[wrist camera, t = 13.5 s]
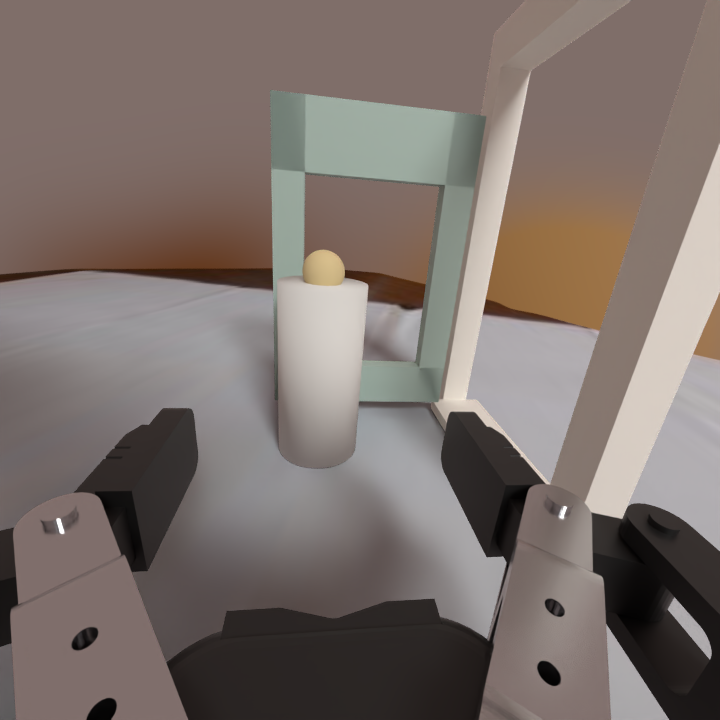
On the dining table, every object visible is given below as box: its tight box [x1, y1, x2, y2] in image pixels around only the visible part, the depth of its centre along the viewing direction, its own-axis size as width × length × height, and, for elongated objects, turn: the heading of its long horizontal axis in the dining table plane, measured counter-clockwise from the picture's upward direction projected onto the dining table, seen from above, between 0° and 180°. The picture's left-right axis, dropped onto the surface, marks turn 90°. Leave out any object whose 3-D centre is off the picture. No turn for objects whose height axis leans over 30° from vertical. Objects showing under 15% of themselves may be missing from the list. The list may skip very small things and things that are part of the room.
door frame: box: [431, 0, 720, 519], centre depth 20 cm, size 4×18×26 cm, turn 6°
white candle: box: [277, 250, 368, 469], centre depth 22 cm, size 5×5×13 cm
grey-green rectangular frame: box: [270, 90, 487, 402], centre depth 26 cm, size 13×3×20 cm, turn 96°
